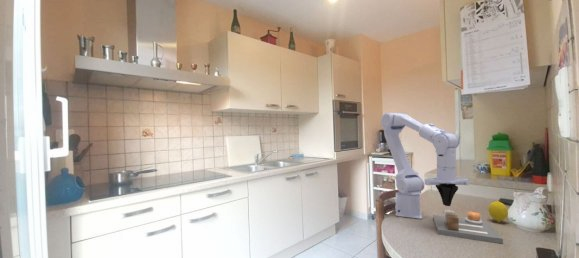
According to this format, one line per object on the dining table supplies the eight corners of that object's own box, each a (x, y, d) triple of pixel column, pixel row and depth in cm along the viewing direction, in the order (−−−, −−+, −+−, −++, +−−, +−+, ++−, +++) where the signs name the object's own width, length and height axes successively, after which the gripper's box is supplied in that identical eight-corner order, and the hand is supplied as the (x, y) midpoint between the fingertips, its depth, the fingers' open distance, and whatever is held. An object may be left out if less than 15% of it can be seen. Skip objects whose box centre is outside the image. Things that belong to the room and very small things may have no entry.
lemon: (511, 225, 89) (511, 203, 89) (494, 224, 90) (494, 202, 90) (501, 219, 94) (501, 199, 94) (485, 218, 95) (485, 198, 95)
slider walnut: (448, 228, 82) (447, 217, 82) (446, 225, 84) (446, 214, 84) (458, 230, 80) (458, 218, 80) (456, 227, 83) (456, 215, 83)
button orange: (468, 219, 87) (468, 213, 87) (466, 216, 90) (466, 210, 90) (481, 221, 86) (481, 215, 86) (478, 217, 89) (478, 212, 89)
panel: (438, 234, 82) (438, 226, 82) (433, 218, 96) (432, 212, 96) (502, 243, 74) (502, 235, 74) (486, 225, 89) (486, 218, 89)
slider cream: (445, 223, 87) (445, 212, 87) (444, 220, 89) (444, 209, 89) (455, 224, 85) (455, 213, 85) (453, 221, 88) (453, 210, 88)
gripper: (432, 168, 82) (432, 208, 82) (475, 168, 82) (475, 208, 82) (421, 165, 89) (421, 202, 89) (460, 165, 89) (461, 202, 89)
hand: (446, 205), depth 86 cm, fingers closed
